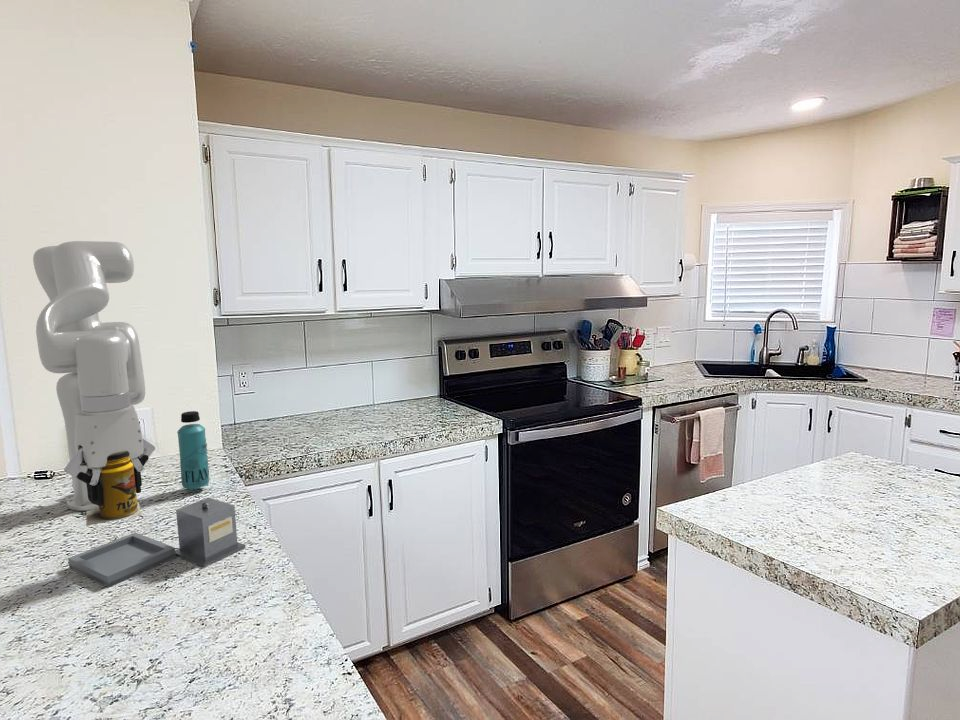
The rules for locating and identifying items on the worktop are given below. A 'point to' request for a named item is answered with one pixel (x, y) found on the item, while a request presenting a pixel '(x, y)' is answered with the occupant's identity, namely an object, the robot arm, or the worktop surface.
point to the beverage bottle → (193, 452)
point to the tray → (121, 559)
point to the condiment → (116, 491)
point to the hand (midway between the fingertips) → (116, 496)
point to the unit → (207, 532)
